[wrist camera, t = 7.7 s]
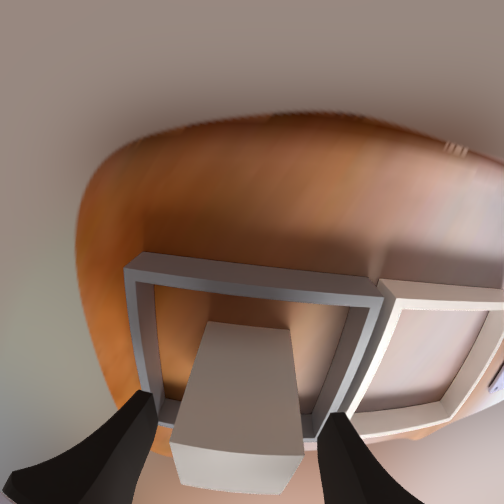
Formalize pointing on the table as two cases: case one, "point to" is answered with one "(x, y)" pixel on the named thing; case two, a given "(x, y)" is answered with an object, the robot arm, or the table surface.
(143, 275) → the bin
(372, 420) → the bin
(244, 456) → the white rectangular block
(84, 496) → the robot arm
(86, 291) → the table surface
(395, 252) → the table surface
